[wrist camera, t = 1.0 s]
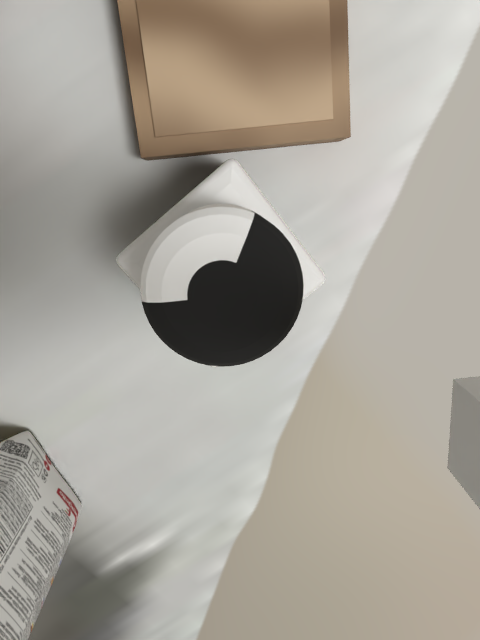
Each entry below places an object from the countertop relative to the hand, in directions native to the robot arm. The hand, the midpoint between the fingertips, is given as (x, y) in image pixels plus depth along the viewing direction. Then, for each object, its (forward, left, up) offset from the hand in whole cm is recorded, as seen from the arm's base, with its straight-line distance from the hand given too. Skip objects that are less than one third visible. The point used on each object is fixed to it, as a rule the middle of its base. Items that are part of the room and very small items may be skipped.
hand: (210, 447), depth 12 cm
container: (-3, +1, -20) cm, 20 cm away
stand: (-15, +3, -19) cm, 24 cm away
